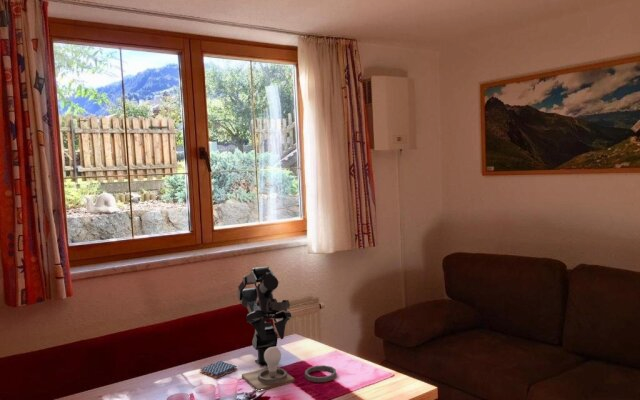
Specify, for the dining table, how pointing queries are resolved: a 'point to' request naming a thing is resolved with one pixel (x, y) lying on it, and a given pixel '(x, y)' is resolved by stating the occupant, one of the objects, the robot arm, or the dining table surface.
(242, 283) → the robot arm
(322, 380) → the collar
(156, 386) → the dining table surface
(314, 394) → the dining table surface
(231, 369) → the woven mat
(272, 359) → the lightbulb
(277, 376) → the socket board
